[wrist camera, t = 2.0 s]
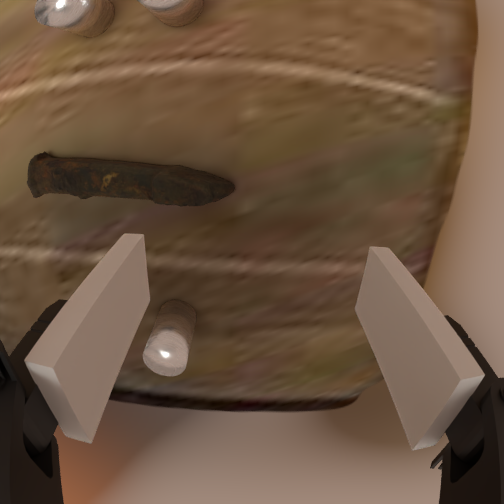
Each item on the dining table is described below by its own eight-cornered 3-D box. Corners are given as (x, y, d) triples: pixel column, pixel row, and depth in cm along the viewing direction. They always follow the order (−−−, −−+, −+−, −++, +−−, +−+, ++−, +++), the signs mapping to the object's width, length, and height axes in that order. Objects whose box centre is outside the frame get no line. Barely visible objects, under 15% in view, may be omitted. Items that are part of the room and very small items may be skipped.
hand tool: (47, 188, 27) (21, 202, 23) (47, 149, 26) (20, 159, 21) (229, 214, 29) (225, 233, 25) (236, 170, 27) (234, 183, 23)
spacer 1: (74, 41, 21) (31, 30, 15) (79, 4, 19) (39, -14, 13) (112, 33, 21) (74, 17, 15) (116, -5, 20) (82, -28, 13)
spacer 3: (161, 328, 34) (146, 373, 28) (158, 298, 32) (139, 342, 26) (197, 331, 34) (187, 378, 28) (195, 301, 32) (184, 346, 26)
